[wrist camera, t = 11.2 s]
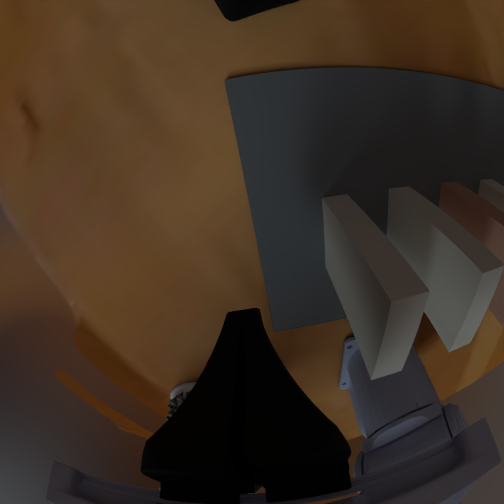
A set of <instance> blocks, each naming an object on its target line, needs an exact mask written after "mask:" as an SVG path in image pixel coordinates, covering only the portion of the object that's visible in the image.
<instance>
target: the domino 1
mask: <svg viewBox="0 0 504 504" xmlns="http://www.w3.org/2000/svg"><path fill="white" fill-rule="evenodd" d="M322 207H323V222H324V241H325V267H326V269H327V272H328V274H329V276H330V278H331V281H332V283H333V285H334V288H335V290H336V292H337V295H338V297H339V299H340V302H341V304H342V306H343V309H344V311H345V314H346V316H347V319H348V321H349V324H350V326H351V329H352V331H353V334H354V336H355V339H356V341H357V344H358V346H359V349H360V352H361V354H362V357H363V360H364V362H365V365H366V368H367V370H368V373H369V376H370V379H371V380H373V379H377V378H380V377H383V376H386V375H390V374H393V373H396V372H399V371H402V369H403V366H404V364H405V361H406V359H407V357H408V354H409V352H410V349H411V346H412V344H413V341H414V339H415V336H416V333H417V330H418V327H419V324H420V322H421V318H422V315H423V312H424V309H425V306H426V303H427V299H428V296H429V292H430V290H429V289H428V288H427V286H426V285H425V284H424V282H423V281H422V280H421V278H420V277H419V276H418V275H417V273H416V272H415V271H414V269H413V268H412V267H411V266H410V264H409V263H408V262H407V261H406V259H405V258H404V257H403V256H402V255H401V253H400V252H399V251H398V250H397V249H396V247H395V246H394V245H393V244H392V243H391V241H390V240H389V239H388V238H387V237H386V236H385V235H384V233H383V232H382V231H381V230H380V229H379V228H378V227H377V225H376V224H375V223H374V222H373V221H372V220H371V219H370V218H369V217H368V216H367V214H366V213H365V212H364V211H363V210H362V209H361V208H360V207H359V206H358V205H357V204H356V203H355V202H354V201H353V200H352V199H351V198H350V197H349V196H348V194H344V195H337V196H331V197H324V198H322Z"/></svg>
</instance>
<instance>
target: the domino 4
mask: <svg viewBox="0 0 504 504" xmlns="http://www.w3.org/2000/svg"><path fill="white" fill-rule="evenodd" d="M478 195H479V196H481V197H482V198H484V199H485V200H487V201H488V202H490V203H491V204H493V205H494V206H495V207H497V208H498V209H500V210H501V211H502V212H504V186H502V185H501V184H499V183H497V182H495V181H494V180H492V179H485V180H480V185H479V193H478Z"/></svg>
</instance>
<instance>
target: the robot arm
mask: <svg viewBox="0 0 504 504" xmlns="http://www.w3.org/2000/svg"><path fill="white" fill-rule="evenodd" d="M419 326H420V324H419ZM418 328H419V327H418ZM417 331H418V330H417ZM416 334H417V333H416ZM415 337H416V336H415ZM414 340H415V339H414ZM413 342H414V341H413ZM339 389H340V390H344V389H348V391H349V394H350V397H351V401H352V405H353V408H354V412H355V415H356V419H357V423H358V426H359V429H360V431H361V433H362V434H363V435H364V436H365V437H366V438H367V440H365V441H363V442H361V445H362V449H363V450H362V451H361V452H360V453H359V454H358V455H357V458H356V461H355V464H354V470H353V477H354V478H350V475H349V464H348V458H349V457H350V455H351V449H350V446H349V444H348V442H347V441H346V439H345V437H344V436H343V434H342V433H341V432H340V430H339V429H338V427H337V426H336V425H335V424H334V423H333V422H332V421H331V420H330V419H329V418H327V417H326V416H325V415H324V414H323V413H322V412H321V411H320V410H319V409H318V408H317V407H316V405H315V404H314V403H313V402H312V401H311V400H310V399H309V398H308V397H307V395H306V394H305V393H304V392H303V391H302V390H301V388H300V387H299V386H298V385H297V383H296V382H295V381H294V379H293V378H292V377H291V375H290V374H289V372H288V371H287V369H286V368H285V366H284V365H283V363H282V362H281V360H280V358H279V357H278V355H277V353H276V351H275V350H274V348H273V346H272V344H271V342H270V340H269V338H268V336H267V333H266V331H265V328H264V326H263V321H262V317H261V313H260V309H258V308H251V309H245V310H239V311H232V312H228V313H227V314H226V318H225V321H224V324H223V327H222V330H221V333H220V335H219V338H218V340H217V343H216V345H215V347H214V350H213V352H212V354H211V356H210V358H209V360H208V362H207V364H206V366H205V368H204V370H203V372H202V374H201V375H200V377H199V379H198V380H197V382H196V384H195V385H194V387H193V388H192V390H191V391H190V393H189V394H188V396H187V397H186V398H185V400H184V401H183V402H182V404H181V405H180V406H179V408H178V409H177V410H176V411H175V412H174V413H173V415H172V416H171V417H170V418H169V419H168V420H167V422H166V423H165V424H164V425H163V426H162V427H161V428H160V429H159V430H158V431H157V432H156V433H154V434H153V435H152V436H151V437H150V438H149V439H148V440H147V441H146V443H145V447H144V450H143V455H142V463H141V472H142V473H143V474H144V475H146V476H147V477H150V478H152V479H154V480H156V481H159V482H161V487H160V490H155V489H149V488H143V487H137V486H132V485H127V484H123V483H118V482H114V481H109V480H106V479H102V478H98V477H95V476H92V475H88V474H85V473H82V472H81V471H79V470H77V469H75V468H73V467H70V466H68V465H65V464H62V463H60V462H57V461H53V465H52V469H51V474H50V479H49V485H48V490H47V496H46V500H47V501H49V502H51V503H52V504H304V503H310V502H316V501H321V500H327V499H331V498H336V497H340V496H344V495H348V494H352V493H356V492H358V493H359V495H357V496H353V497H350V498H346V499H343V500H339V501H335V502H331V503H327V504H461V501H462V499H463V498H464V497H465V495H466V494H467V493H468V491H469V490H470V488H471V487H472V486H473V484H474V483H475V481H476V480H478V479H480V478H481V477H482V476H484V475H485V474H487V473H488V472H489V471H491V470H492V469H494V468H495V467H496V466H498V465H499V464H500V463H501V462H502V460H501V457H500V454H499V451H498V449H497V446H496V443H495V440H494V438H493V435H492V433H491V430H490V428H489V425H488V423H487V421H486V418H482V419H480V420H479V421H477V422H476V423H474V424H472V425H471V426H468V424H467V422H466V420H465V417H464V415H463V413H462V412H461V410H460V408H459V406H458V405H454V404H453V405H452V404H451V403H449V404H447V405H446V406H444V405H442V404H441V402H440V400H439V397H438V395H437V393H436V391H435V389H434V386H433V384H432V382H431V380H430V378H429V376H428V374H427V372H426V369H425V367H424V365H423V363H422V361H421V359H420V357H419V355H418V353H417V351H416V350H415V348H414V346H413V344H412V346H411V349H410V352H409V354H408V357H407V359H406V361H405V364H404V366H403V369H402V371H399V372H396V373H393V374H390V375H386V376H383V377H380V378H377V379H373V380H371V379H370V376H369V373H368V370H367V368H366V365H365V362H364V360H363V357H362V354H361V352H360V349H359V346H358V344H357V341H356V339H355V336H354V337H350V338H347V339H346V340H345V342H344V349H343V358H342V366H341V373H340V380H339ZM262 486H263V487H264V488H265V490H266V493H257V494H248V493H255V492H256V491H258V490H259V489H260V488H261V487H262Z"/></svg>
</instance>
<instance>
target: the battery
mask: <svg viewBox="0 0 504 504" xmlns="http://www.w3.org/2000/svg"><path fill="white" fill-rule="evenodd" d="M214 1H215V3H216V4H217V6H218V7H219V9H220V11H221V12H222V14H223V15H224V17H225V18H226V19H227V20H229V21H237V20H240V19H242V18H245V17H248V16H251V15H254V14H256V13H259V12H262V11H266V10H269V9H272V8H275V7H279V6H282V5H286V4H289V3H293V2H297V1H299V0H214Z"/></svg>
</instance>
